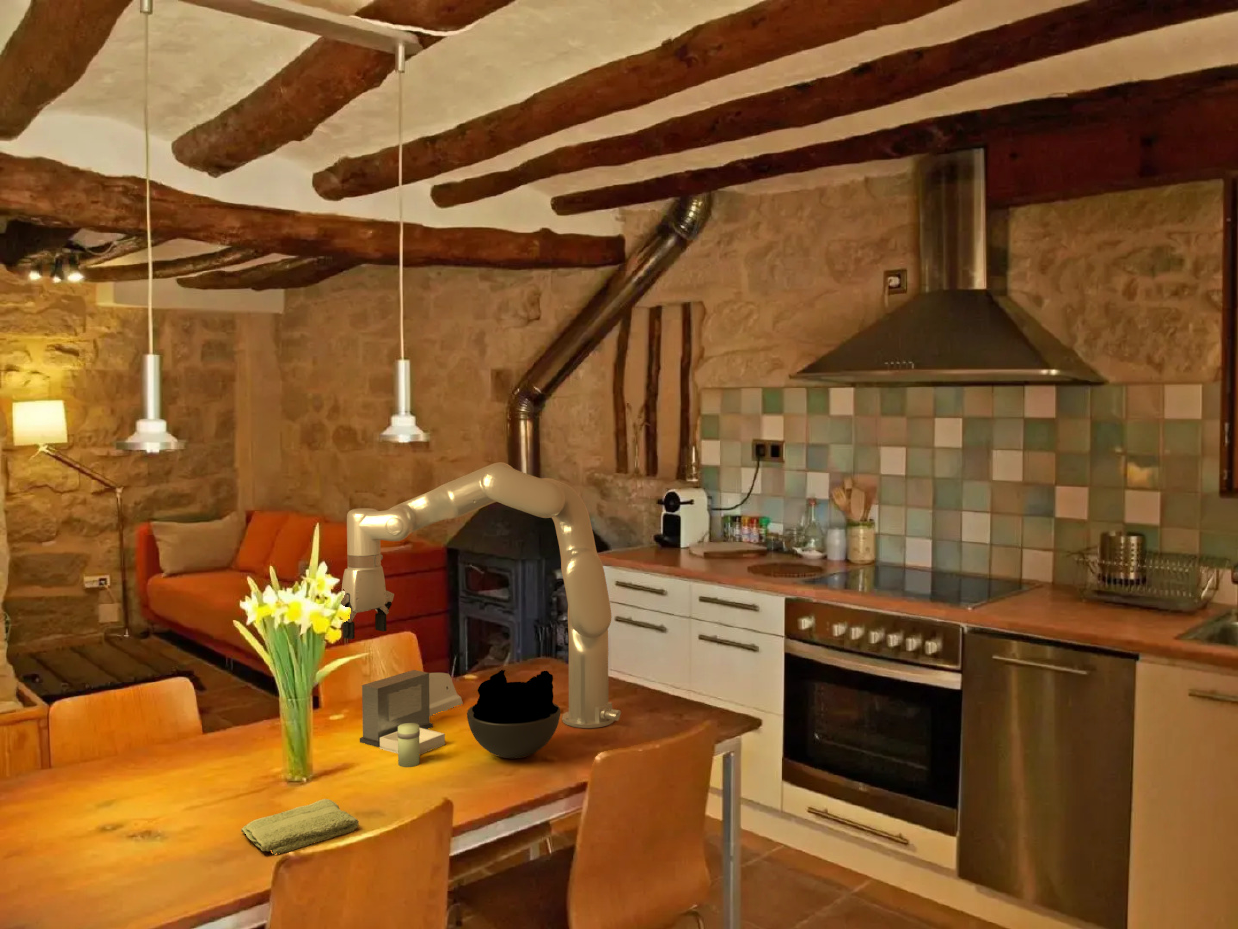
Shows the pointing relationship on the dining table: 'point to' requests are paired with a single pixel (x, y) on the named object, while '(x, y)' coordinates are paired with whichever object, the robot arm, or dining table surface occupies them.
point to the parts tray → (426, 741)
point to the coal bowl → (514, 715)
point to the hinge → (442, 693)
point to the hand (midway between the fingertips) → (365, 634)
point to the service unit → (394, 705)
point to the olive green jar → (408, 744)
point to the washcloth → (300, 827)
